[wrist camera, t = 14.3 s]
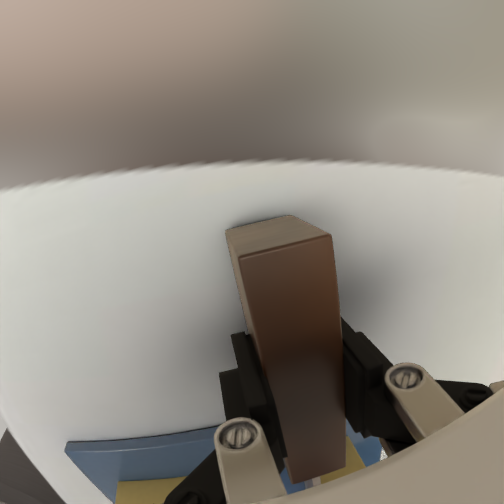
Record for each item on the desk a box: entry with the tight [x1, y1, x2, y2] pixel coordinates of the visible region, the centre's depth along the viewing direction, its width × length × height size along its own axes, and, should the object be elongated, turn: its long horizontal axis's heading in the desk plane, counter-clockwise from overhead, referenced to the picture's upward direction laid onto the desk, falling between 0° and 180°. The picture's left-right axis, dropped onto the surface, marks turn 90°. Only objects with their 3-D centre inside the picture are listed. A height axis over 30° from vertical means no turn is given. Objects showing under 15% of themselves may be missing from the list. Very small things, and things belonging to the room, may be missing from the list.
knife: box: [225, 215, 346, 489], centre depth 12 cm, size 2×19×4 cm, turn 11°
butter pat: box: [320, 436, 366, 484], centre depth 14 cm, size 2×4×3 cm, turn 11°
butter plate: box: [64, 419, 382, 504], centre depth 15 cm, size 18×10×1 cm, turn 101°
